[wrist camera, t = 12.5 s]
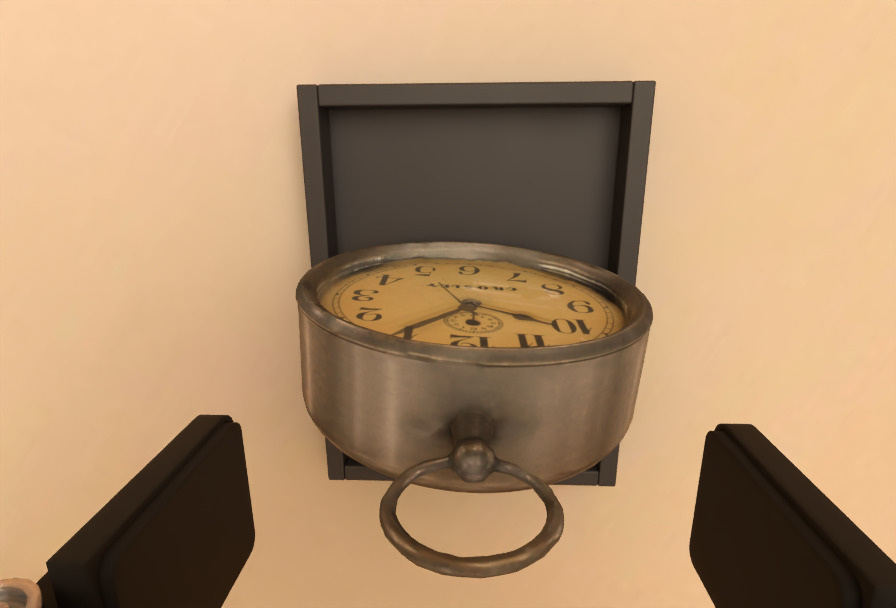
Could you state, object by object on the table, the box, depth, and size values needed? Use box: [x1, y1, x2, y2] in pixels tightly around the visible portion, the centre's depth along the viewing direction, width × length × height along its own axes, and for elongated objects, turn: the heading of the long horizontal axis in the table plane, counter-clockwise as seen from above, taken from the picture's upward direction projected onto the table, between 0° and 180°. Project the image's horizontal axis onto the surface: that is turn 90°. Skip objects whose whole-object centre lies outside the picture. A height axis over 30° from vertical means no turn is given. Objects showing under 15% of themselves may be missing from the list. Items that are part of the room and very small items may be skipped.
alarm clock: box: [296, 241, 653, 578], centre depth 16 cm, size 11×5×16 cm, turn 87°
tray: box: [297, 81, 656, 486], centre depth 23 cm, size 14×18×2 cm
